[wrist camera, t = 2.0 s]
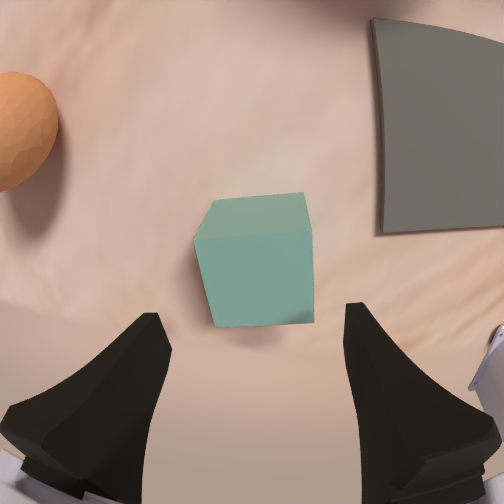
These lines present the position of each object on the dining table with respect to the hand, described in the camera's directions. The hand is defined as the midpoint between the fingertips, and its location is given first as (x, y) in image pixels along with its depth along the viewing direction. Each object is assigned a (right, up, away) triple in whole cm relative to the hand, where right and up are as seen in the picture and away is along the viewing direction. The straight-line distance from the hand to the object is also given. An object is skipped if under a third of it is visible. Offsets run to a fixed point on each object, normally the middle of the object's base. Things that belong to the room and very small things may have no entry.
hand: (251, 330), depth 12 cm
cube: (+1, +4, +7) cm, 8 cm away
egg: (-13, +12, +4) cm, 18 cm away
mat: (+13, +10, +2) cm, 16 cm away
